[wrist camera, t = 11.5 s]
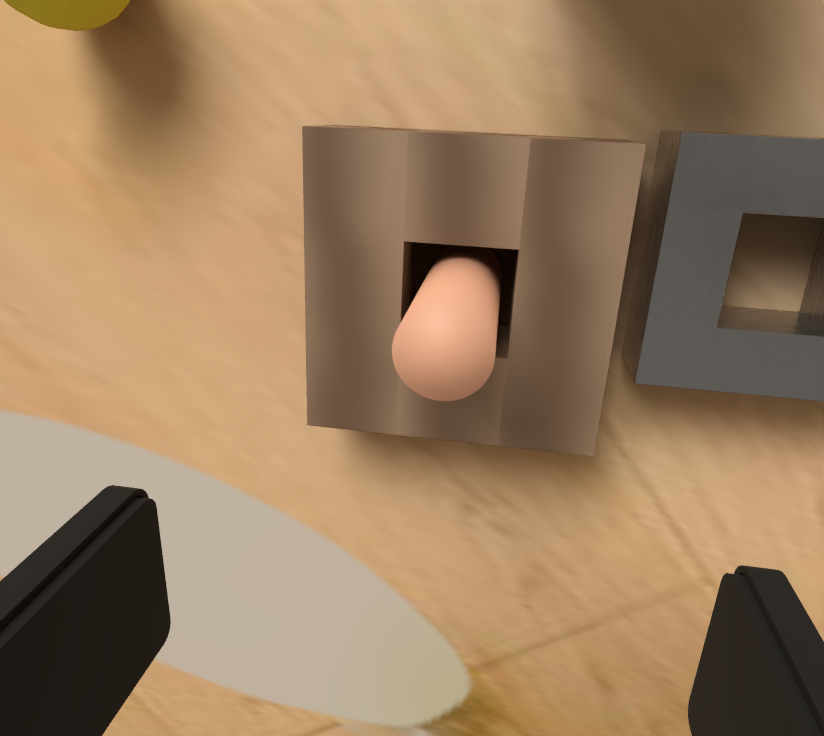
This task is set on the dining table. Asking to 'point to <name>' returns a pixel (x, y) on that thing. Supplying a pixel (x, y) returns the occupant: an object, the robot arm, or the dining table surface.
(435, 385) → the pin
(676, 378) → the pin mount
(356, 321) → the socket block
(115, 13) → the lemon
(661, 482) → the dining table surface
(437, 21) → the dining table surface
